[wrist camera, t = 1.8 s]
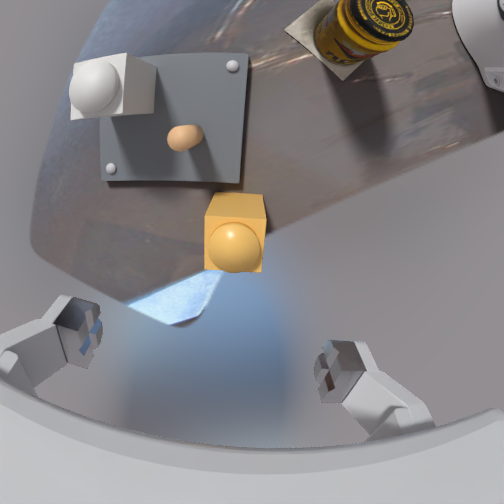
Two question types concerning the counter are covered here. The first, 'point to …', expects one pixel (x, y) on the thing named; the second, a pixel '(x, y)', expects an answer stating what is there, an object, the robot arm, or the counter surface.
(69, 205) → the counter surface
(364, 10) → the condiment
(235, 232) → the yellow knob block
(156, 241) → the counter surface
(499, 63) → the robot arm
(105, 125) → the plate
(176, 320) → the counter surface
